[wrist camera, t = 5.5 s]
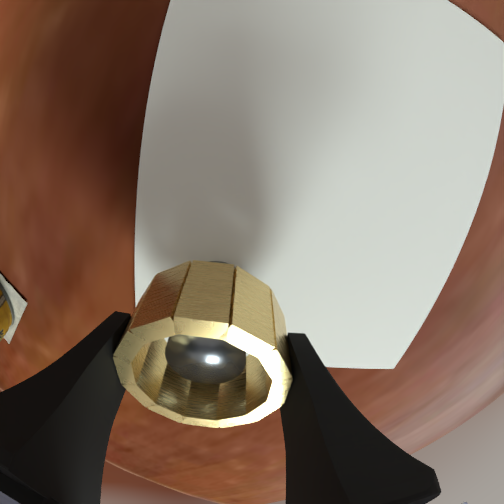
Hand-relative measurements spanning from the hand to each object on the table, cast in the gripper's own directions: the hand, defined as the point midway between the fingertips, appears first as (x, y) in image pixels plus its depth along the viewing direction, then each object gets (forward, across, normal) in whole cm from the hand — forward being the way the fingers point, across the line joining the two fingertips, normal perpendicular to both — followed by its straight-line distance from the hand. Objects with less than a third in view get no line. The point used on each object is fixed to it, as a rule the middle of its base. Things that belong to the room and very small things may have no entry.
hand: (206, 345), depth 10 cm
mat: (+4, -4, -6) cm, 8 cm away
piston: (+4, 0, 0) cm, 4 cm away
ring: (+1, 0, 0) cm, 1 cm away
